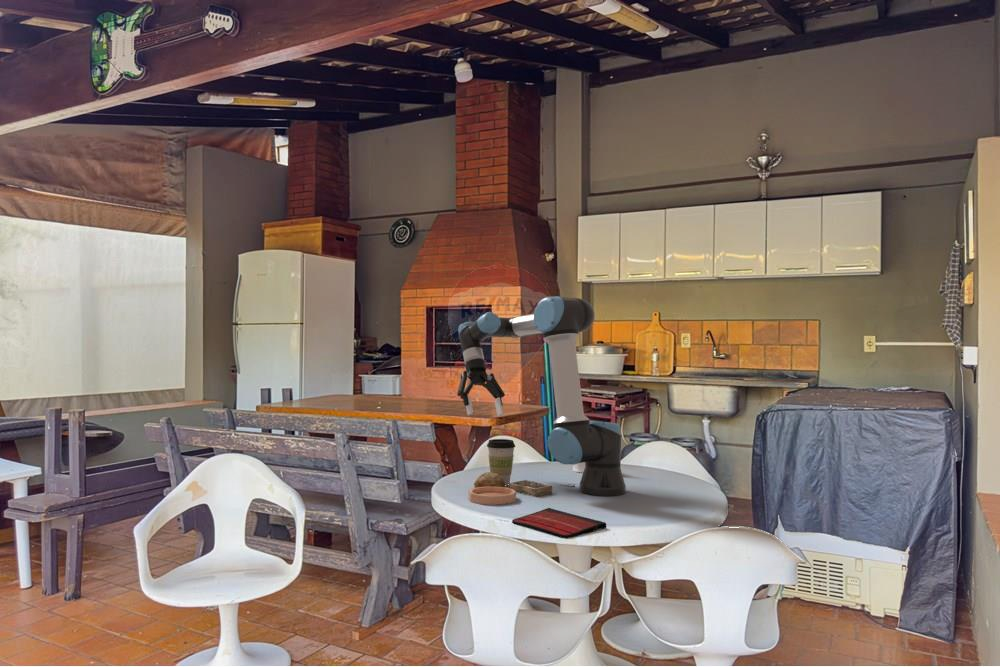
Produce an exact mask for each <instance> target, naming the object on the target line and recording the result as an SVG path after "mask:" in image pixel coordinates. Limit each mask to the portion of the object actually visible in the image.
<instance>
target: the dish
mask: <svg viewBox="0 0 1000 667" xmlns="http://www.w3.org/2000/svg"><path fill="white" fill-rule="evenodd" d="M467 494H468V497H467V499H468V500H469V501H470V502H471V503H474V504H479V505H488V506H489V505H490V506H498V505H497V504H499V505H507V504H506V503H508V504H511V502H512V503H514V502H515V501H516V500H517V492H516V491H515V490H513V489H510V488H509V487H507V486H505V487H494V486H491V487H478V488H475V487H474V488H470V489H469V490H468V493H467Z"/></svg>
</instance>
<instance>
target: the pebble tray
mask: <svg viewBox="0 0 1000 667" xmlns="http://www.w3.org/2000/svg"><path fill="white" fill-rule="evenodd" d="M508 488H510V489H513V490H515V491H516V493H517V492H520V493H519V494H521V493H524V494H523V495H526V494H529V495H528V496H530V495H533V496H532V497H534V496H536V497H538V496H537V495H540V496H543V495H542V494H545V495H548V494H547V493H550V494H552V493H553V486H552V485H550V484H545V483H540V482H536V481H530V480H527V479H525V480H518V481H512V482H510V483H509V485H508Z"/></svg>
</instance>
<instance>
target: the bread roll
mask: <svg viewBox="0 0 1000 667" xmlns="http://www.w3.org/2000/svg"><path fill="white" fill-rule="evenodd" d="M473 485H474V488H478V487H491V486H494V487H506V486H505V482H504V481H503V479H502V478H501V477H500V476H499V474H495V473H492V472H490V471H488V472H484V473H482V474H481V475H480V476H478V477H477V478H476V480H475V481H474V482H473Z"/></svg>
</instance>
